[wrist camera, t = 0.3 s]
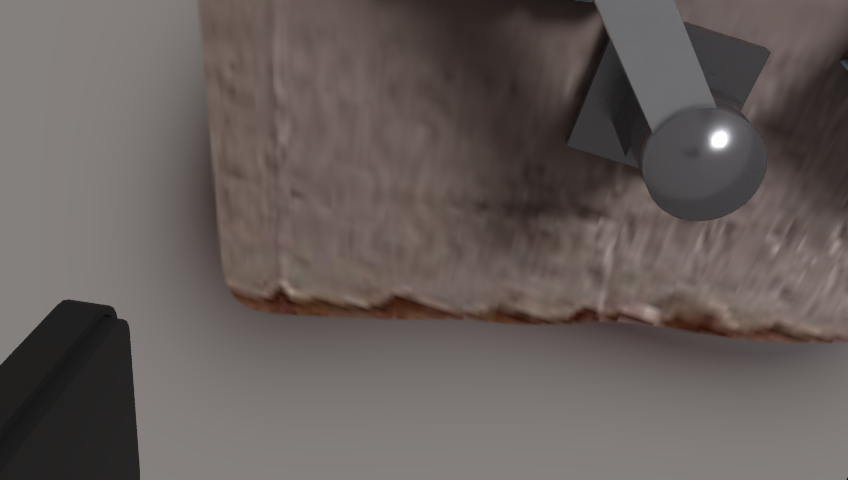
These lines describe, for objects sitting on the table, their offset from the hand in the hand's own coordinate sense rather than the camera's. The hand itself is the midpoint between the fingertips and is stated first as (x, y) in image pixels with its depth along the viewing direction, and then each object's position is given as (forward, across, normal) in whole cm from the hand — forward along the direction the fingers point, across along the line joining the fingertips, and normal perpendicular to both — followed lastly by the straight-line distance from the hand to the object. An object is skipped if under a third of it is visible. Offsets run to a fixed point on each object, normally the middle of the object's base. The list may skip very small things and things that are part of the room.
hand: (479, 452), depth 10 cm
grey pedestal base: (+29, -8, +3) cm, 30 cm away
